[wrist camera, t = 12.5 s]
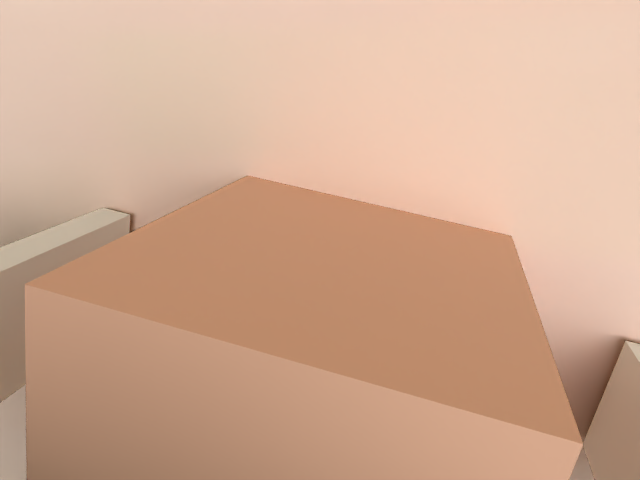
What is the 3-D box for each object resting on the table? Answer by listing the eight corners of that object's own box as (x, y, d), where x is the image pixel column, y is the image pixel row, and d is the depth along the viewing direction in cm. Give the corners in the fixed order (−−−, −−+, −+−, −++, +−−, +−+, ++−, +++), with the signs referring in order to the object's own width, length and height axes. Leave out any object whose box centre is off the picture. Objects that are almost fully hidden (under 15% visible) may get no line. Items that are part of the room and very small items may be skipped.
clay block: (442, 458, 13) (430, 817, 7) (220, 391, 14) (29, 649, 8) (511, 235, 12) (583, 444, 5) (248, 174, 13) (25, 283, 6)
